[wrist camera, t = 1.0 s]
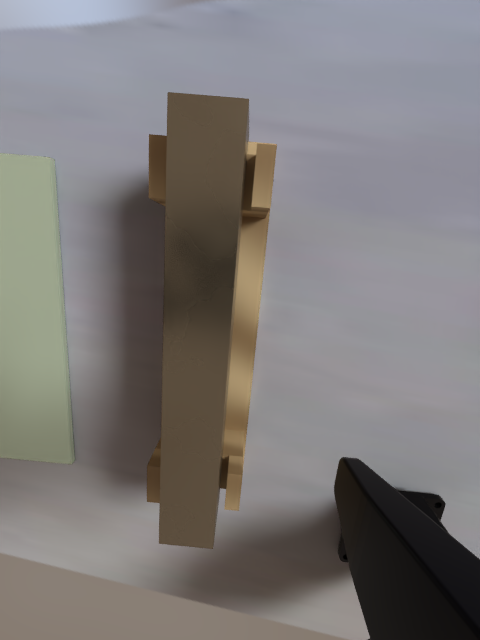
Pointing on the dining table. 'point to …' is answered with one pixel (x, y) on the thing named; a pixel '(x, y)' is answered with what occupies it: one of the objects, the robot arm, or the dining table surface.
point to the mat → (32, 316)
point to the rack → (245, 307)
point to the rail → (199, 305)
